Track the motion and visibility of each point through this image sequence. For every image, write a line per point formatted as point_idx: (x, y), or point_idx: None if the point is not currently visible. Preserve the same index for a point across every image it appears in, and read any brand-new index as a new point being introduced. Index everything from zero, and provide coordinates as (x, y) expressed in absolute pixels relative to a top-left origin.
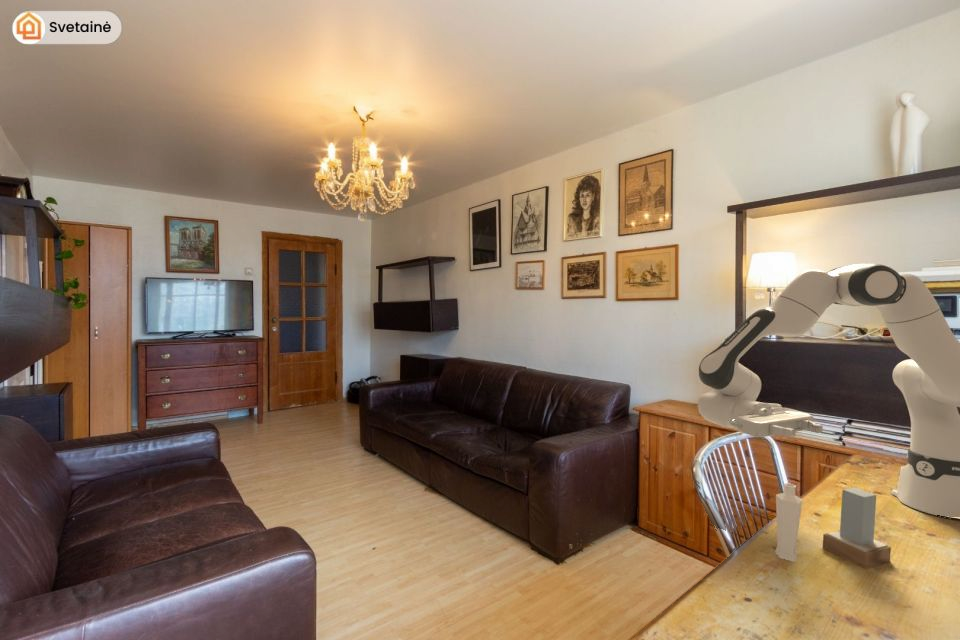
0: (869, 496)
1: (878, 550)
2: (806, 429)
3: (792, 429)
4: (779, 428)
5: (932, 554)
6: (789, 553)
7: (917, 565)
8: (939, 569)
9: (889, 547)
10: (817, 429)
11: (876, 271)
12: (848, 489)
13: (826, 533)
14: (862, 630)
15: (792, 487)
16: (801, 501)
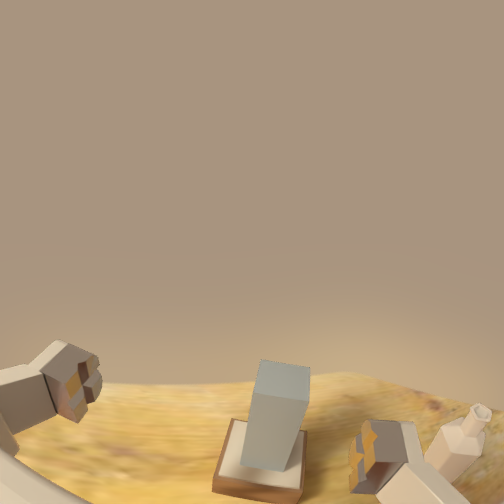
0: (289, 364)
1: None
2: (19, 448)
3: (389, 424)
4: (443, 486)
5: (131, 399)
6: None
7: (202, 411)
8: (187, 393)
9: (235, 419)
10: (90, 377)
11: None
12: (290, 395)
13: (293, 491)
14: (437, 396)
15: (482, 405)
16: (448, 423)
